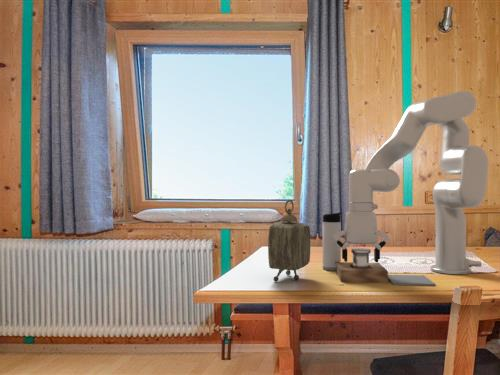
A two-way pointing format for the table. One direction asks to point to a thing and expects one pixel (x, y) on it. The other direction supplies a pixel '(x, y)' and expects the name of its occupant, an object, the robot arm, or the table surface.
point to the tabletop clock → (288, 244)
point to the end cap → (360, 257)
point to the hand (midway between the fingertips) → (360, 261)
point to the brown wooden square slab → (362, 273)
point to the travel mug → (331, 241)
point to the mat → (410, 280)
